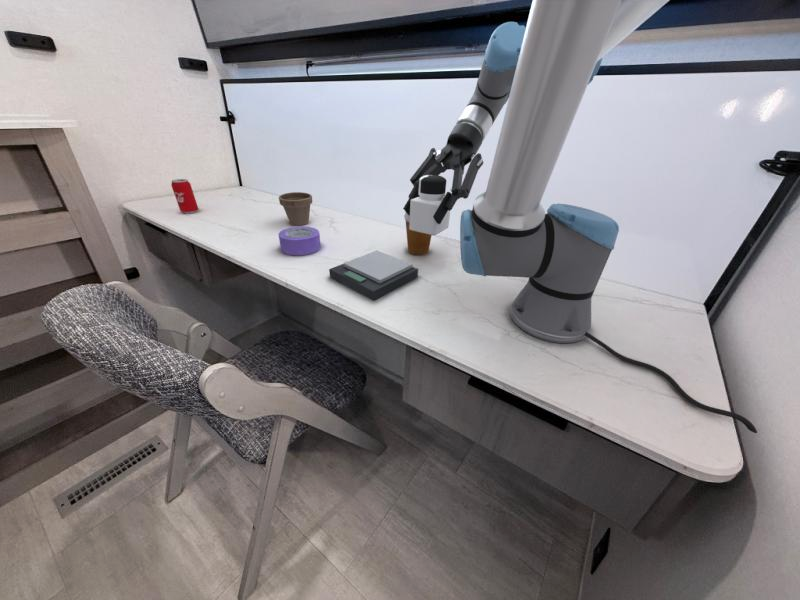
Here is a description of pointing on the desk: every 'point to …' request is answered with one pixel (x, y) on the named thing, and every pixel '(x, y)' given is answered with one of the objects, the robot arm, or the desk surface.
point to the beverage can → (184, 195)
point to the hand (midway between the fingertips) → (421, 216)
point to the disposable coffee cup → (416, 239)
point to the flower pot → (296, 207)
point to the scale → (374, 274)
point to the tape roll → (299, 240)
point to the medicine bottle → (428, 206)
